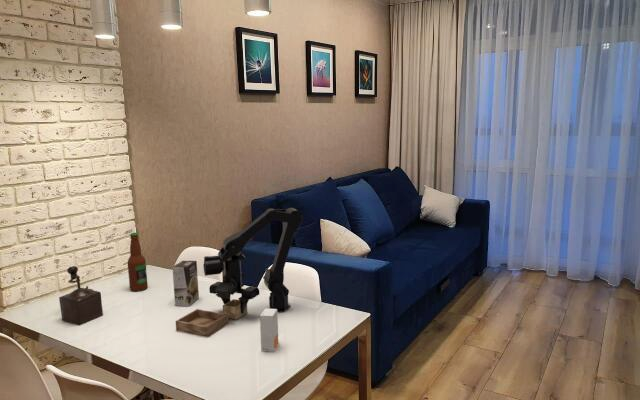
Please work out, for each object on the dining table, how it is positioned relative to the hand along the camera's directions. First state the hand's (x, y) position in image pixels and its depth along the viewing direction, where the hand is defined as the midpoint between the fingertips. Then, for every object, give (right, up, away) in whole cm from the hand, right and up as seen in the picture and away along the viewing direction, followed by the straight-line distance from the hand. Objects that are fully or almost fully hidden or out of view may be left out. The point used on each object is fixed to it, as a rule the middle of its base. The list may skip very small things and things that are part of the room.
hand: (235, 312), depth 180 cm
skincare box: (+16, -6, -25) cm, 30 cm away
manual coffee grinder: (-60, -3, +3) cm, 60 cm away
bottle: (-47, +3, +31) cm, 57 cm away
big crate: (-10, -3, -9) cm, 14 cm away
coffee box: (-22, 0, +15) cm, 26 cm away
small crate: (0, -1, 0) cm, 1 cm away
